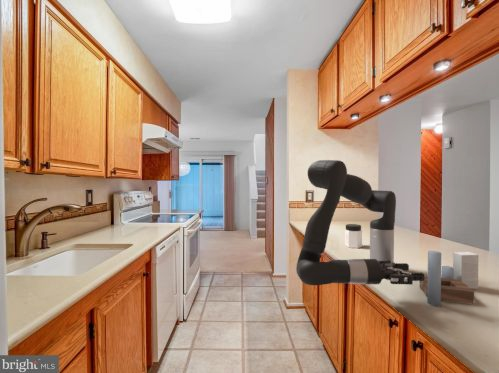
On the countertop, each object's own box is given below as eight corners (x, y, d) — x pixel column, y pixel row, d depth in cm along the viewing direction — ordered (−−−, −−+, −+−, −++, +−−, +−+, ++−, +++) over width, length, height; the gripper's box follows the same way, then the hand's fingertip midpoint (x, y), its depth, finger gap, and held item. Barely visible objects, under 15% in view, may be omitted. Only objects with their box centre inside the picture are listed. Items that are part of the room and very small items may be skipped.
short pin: (440, 284, 99) (440, 265, 98) (451, 285, 98) (451, 266, 97) (443, 288, 95) (444, 268, 95) (455, 289, 94) (455, 269, 94)
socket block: (419, 287, 96) (419, 276, 96) (459, 291, 93) (459, 279, 93) (428, 299, 87) (428, 287, 87) (473, 304, 83) (474, 291, 83)
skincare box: (468, 284, 99) (468, 251, 98) (478, 289, 95) (479, 254, 94) (451, 284, 99) (452, 251, 98) (461, 289, 94) (462, 255, 94)
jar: (351, 243, 159) (351, 223, 159) (364, 246, 153) (364, 225, 153) (342, 246, 154) (342, 225, 154) (355, 249, 148) (355, 227, 147)
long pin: (425, 300, 86) (426, 250, 86) (438, 302, 85) (439, 251, 84) (429, 305, 83) (430, 253, 82) (442, 307, 82) (443, 254, 81)
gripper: (371, 267, 77) (430, 267, 77) (354, 253, 92) (403, 253, 91) (371, 293, 78) (429, 293, 77) (354, 275, 92) (403, 275, 91)
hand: (415, 271), depth 84 cm, fingers open, 8 cm apart
